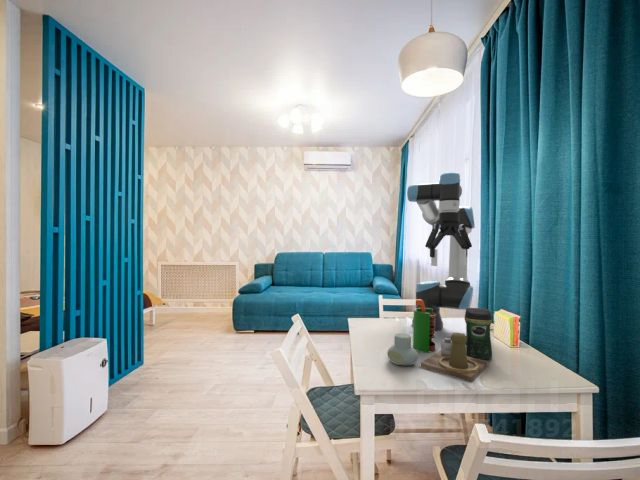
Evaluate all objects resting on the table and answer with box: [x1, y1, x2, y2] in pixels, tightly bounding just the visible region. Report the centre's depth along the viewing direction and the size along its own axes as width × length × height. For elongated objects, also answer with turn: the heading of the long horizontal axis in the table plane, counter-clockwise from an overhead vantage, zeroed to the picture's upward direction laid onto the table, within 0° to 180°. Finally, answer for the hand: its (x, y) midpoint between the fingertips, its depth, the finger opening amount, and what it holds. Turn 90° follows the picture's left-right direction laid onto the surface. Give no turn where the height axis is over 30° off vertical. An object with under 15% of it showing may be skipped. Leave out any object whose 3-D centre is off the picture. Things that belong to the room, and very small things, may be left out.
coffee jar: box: [463, 307, 493, 361], centre depth 123 cm, size 10×8×19 cm
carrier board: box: [420, 337, 489, 383], centre depth 113 cm, size 18×17×8 cm
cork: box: [449, 332, 468, 369], centre depth 111 cm, size 6×6×11 cm
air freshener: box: [386, 332, 419, 367], centre depth 116 cm, size 11×8×10 cm
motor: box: [412, 298, 437, 353], centre depth 132 cm, size 10×9×20 cm
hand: (448, 265), depth 127 cm, fingers open, 13 cm apart
